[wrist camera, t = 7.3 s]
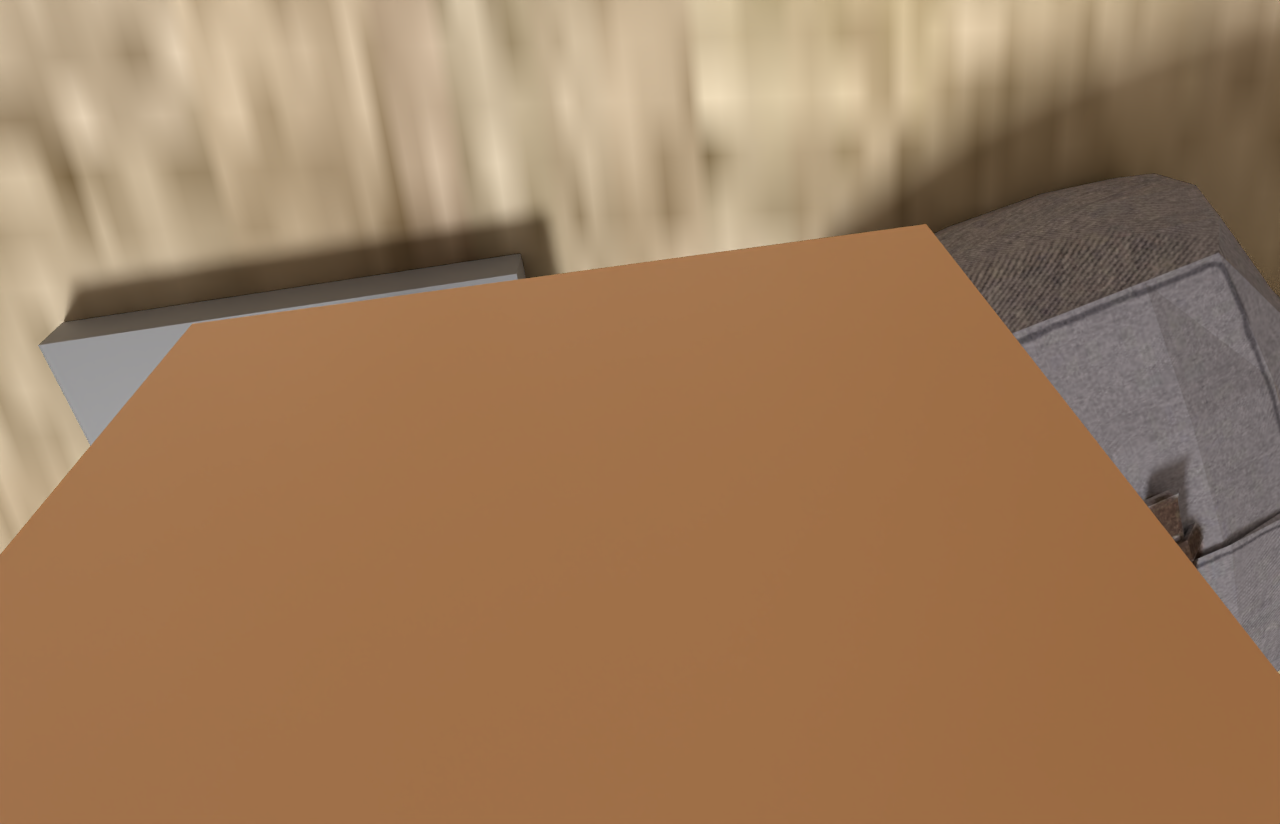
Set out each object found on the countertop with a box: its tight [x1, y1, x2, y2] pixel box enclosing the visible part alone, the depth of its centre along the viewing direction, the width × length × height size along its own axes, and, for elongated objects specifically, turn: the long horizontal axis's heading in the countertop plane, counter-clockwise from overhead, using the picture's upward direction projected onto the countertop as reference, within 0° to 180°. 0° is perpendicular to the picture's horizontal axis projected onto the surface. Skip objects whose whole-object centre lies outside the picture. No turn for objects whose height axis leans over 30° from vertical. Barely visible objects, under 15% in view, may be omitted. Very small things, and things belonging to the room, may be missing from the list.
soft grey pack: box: [934, 174, 1280, 672], centre depth 30 cm, size 15×8×20 cm
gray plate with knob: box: [38, 254, 526, 446], centre depth 30 cm, size 14×14×8 cm
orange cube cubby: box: [0, 224, 1280, 824], centre depth 9 cm, size 7×7×7 cm
